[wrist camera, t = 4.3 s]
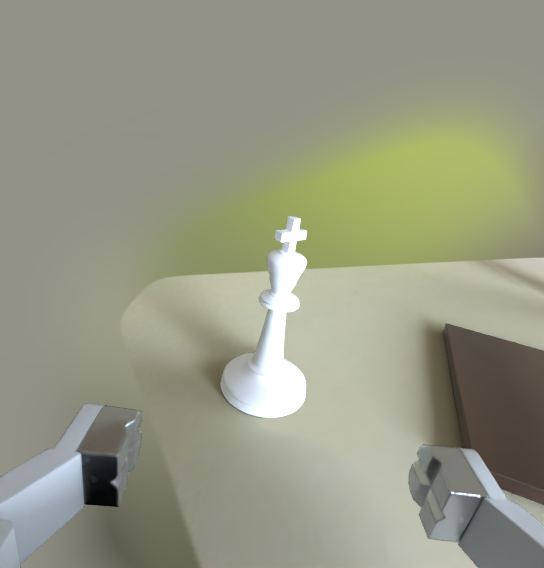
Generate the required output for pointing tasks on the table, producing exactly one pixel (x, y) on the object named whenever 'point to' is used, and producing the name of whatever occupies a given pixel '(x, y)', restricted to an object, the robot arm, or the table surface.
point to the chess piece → (271, 341)
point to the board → (500, 406)
